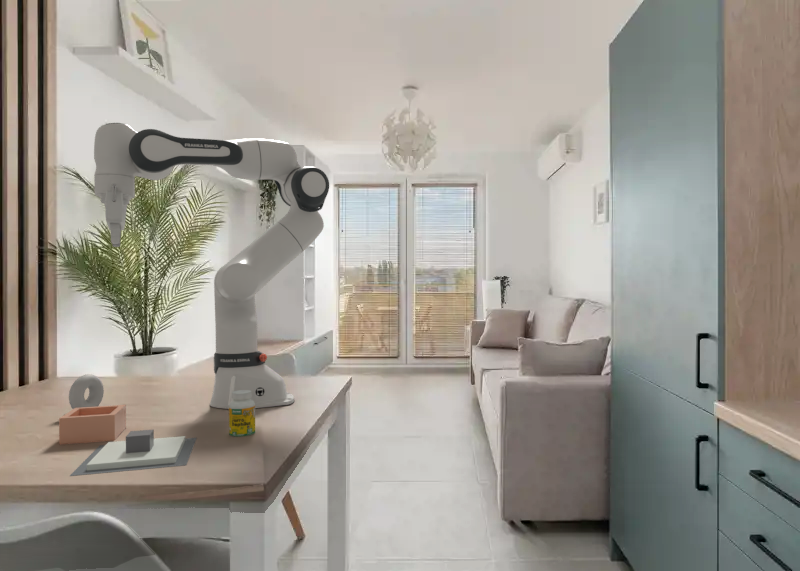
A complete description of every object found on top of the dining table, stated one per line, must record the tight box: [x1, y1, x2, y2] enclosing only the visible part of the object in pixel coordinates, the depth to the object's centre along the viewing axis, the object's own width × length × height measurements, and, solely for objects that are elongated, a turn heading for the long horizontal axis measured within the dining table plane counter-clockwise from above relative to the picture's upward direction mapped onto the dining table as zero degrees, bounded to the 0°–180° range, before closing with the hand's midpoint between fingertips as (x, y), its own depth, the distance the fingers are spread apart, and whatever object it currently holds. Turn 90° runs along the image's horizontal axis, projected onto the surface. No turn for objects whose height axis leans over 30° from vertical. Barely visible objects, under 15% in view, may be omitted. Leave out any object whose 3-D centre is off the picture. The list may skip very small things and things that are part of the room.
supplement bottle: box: [228, 390, 256, 437], centre depth 113 cm, size 5×5×10 cm
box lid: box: [87, 429, 186, 471], centre depth 99 cm, size 14×14×4 cm
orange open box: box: [58, 404, 127, 446], centre depth 112 cm, size 10×10×6 cm
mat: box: [69, 437, 198, 477], centre depth 99 cm, size 18×18×1 cm
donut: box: [68, 373, 105, 410], centre depth 137 cm, size 10×3×10 cm, turn 168°
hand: (115, 245), depth 132 cm, fingers open, 8 cm apart
